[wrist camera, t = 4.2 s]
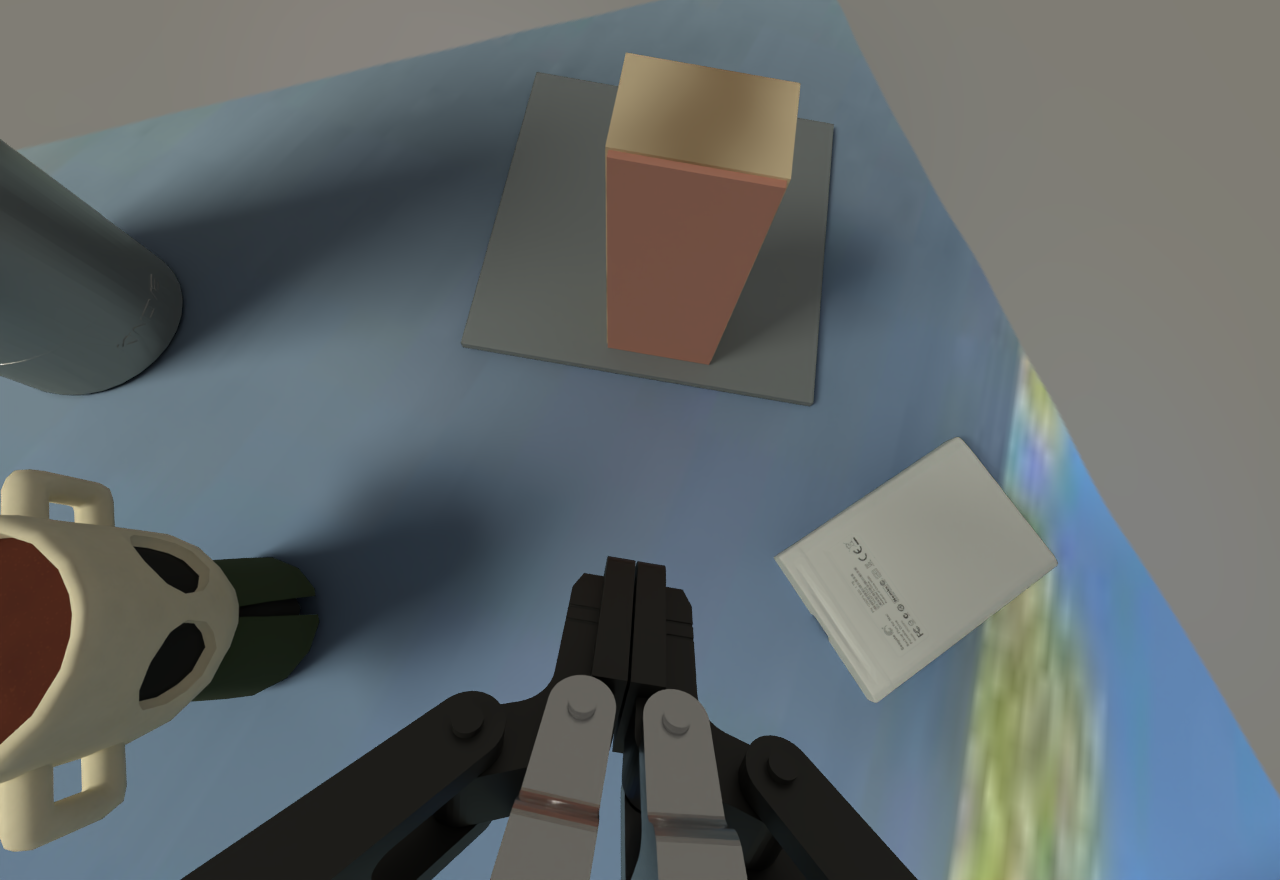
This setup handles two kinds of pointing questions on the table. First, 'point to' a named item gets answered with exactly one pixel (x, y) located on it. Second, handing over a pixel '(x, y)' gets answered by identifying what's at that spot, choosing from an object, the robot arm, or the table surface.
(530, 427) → the table surface
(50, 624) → the character mug
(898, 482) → the external hard drive
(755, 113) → the oak block
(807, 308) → the slate mat
